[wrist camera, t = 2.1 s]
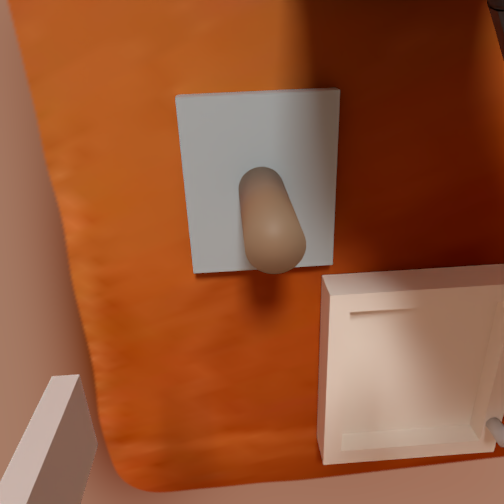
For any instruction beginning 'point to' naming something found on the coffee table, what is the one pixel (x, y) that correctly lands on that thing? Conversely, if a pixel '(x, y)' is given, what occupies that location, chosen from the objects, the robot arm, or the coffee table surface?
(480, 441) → the frame
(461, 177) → the coffee table surface
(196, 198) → the grey panel with handle
